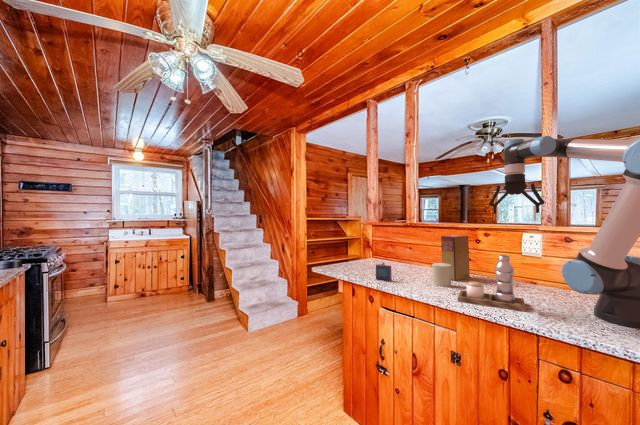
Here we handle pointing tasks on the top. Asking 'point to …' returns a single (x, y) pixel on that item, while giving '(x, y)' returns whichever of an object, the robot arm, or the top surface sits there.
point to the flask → (383, 272)
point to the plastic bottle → (504, 280)
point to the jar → (475, 290)
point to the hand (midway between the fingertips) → (515, 220)
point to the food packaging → (456, 255)
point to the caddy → (493, 301)
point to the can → (441, 274)
